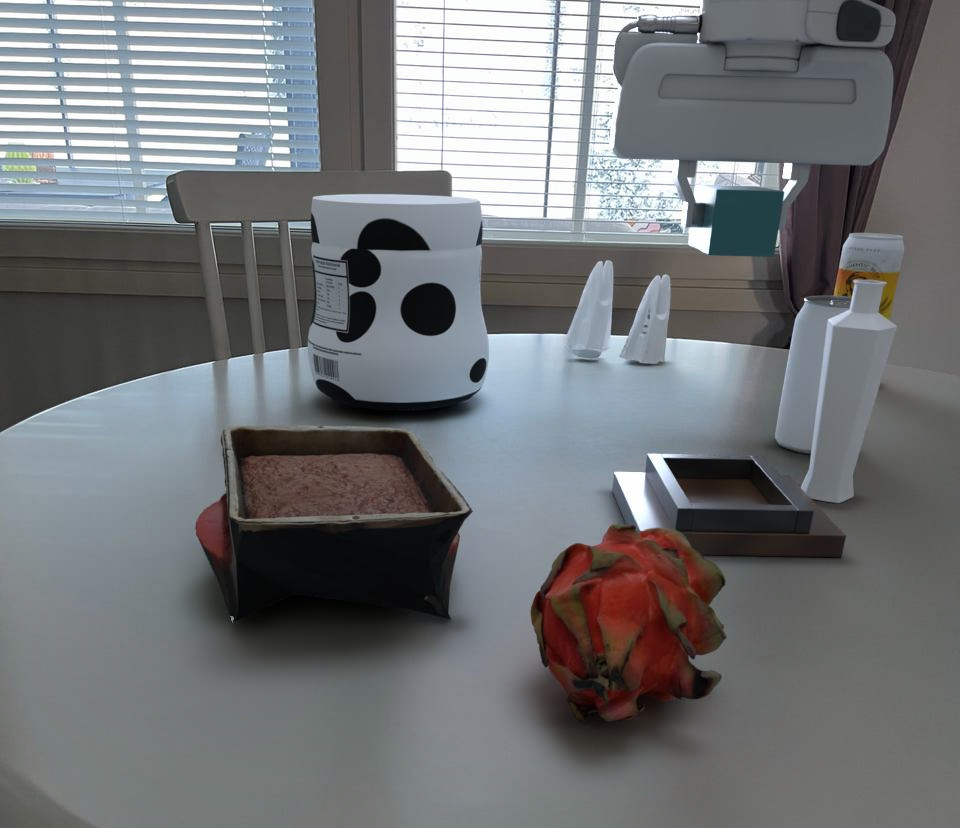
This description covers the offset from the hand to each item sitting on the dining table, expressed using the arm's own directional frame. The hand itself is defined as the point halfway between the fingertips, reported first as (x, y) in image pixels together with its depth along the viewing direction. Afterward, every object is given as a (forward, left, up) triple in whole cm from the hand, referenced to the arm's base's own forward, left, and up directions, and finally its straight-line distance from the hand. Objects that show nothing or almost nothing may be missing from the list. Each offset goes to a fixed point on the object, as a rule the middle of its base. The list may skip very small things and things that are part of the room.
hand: (732, 228), depth 73 cm
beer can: (-22, -26, -17) cm, 38 cm away
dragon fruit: (+13, +42, -17) cm, 48 cm away
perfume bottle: (-7, +13, -17) cm, 23 cm away
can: (-10, 0, -17) cm, 20 cm away
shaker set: (+3, -34, -17) cm, 38 cm away
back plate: (+3, +19, -17) cm, 26 cm away
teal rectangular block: (0, 0, -2) cm, 2 cm away
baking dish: (+28, +30, -17) cm, 45 cm away
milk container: (+27, -13, -17) cm, 35 cm away
